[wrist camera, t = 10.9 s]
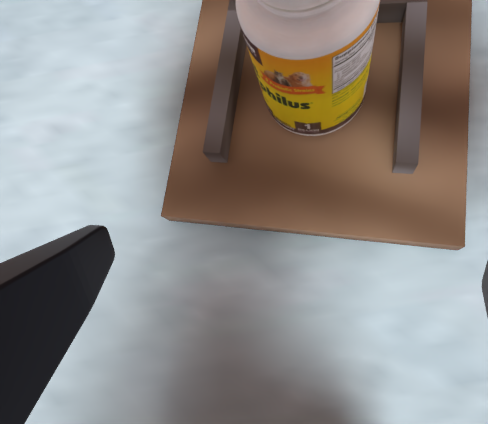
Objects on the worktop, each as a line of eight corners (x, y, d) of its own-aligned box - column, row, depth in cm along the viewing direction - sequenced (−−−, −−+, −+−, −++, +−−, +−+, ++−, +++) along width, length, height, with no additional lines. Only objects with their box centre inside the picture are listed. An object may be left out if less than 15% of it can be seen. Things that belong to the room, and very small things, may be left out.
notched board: (457, 250, 20) (474, 241, 17) (169, 220, 24) (149, 209, 21) (466, -18, 23) (482, -58, 20) (211, -4, 27) (198, -36, 25)
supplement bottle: (247, 98, 23) (185, -54, 13) (317, 36, 23) (305, -162, 13) (311, 160, 21) (292, 36, 12) (387, 93, 21) (432, -88, 12)
